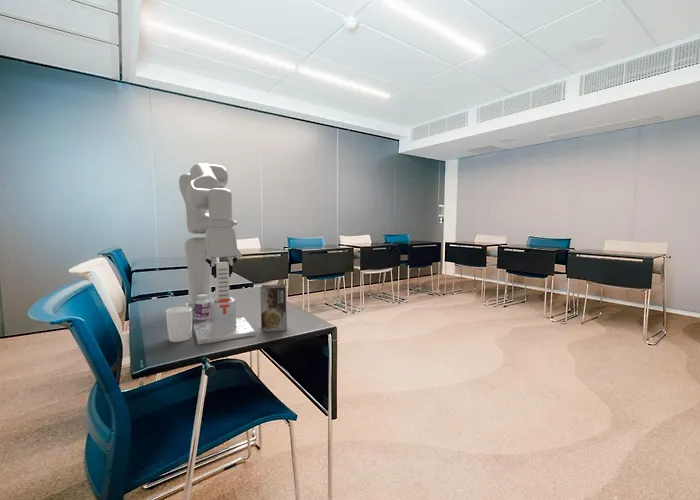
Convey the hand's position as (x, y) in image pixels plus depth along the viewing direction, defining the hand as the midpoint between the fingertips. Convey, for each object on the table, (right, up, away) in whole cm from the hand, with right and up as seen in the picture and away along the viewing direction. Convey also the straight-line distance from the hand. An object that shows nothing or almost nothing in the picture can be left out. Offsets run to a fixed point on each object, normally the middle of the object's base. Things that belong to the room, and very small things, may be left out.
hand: (222, 276), depth 113 cm
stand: (0, -20, +2) cm, 20 cm away
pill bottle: (-14, -19, +17) cm, 29 cm away
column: (0, -13, +1) cm, 13 cm away
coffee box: (+17, -20, +6) cm, 27 cm away
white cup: (-12, -21, -5) cm, 24 cm away
